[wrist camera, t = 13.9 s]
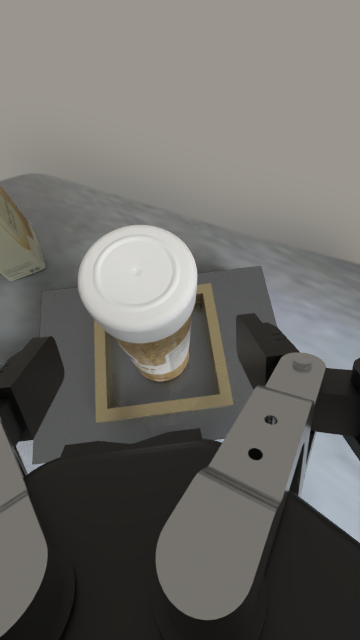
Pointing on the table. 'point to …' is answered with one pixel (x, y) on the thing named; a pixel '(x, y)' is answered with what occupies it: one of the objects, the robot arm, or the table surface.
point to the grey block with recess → (138, 391)
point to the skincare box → (17, 242)
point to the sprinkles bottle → (142, 296)
